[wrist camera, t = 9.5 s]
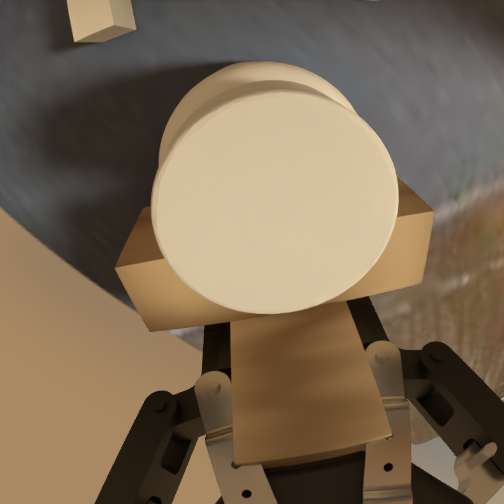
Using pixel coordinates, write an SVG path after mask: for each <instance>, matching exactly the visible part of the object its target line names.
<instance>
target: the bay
mask: <svg viewBox="0 0 504 504" xmlns="http://www.w3.org/2000/svg"><path fill="white" fill-rule="evenodd" d="M366 1H378V0H366ZM67 4H68V11H69V16H70V22H71V27H72V33H73V38H74V42H105V41H108V40H110V39H113V38H115V37H118V36H121V35H123V34H126V33H129V32H132V31H135V30H137V29H136V25H135V20H134V15H133V10H132V4H131V0H67Z"/></svg>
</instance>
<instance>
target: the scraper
mask: <svg viewBox="0 0 504 504" xmlns="http://www.w3.org/2000/svg"><path fill="white" fill-rule="evenodd" d="M396 177H397V176H396ZM397 182H398V197H399V202H398V213H397V217H396V221H395V225H394V229H393V232H392V234H391V237H390V239H389V241H388V244H387V246H386V248H385V249H384V251H383V253H382V255H381V256H380V258H379V259H378V260H377V262H376V263H375V264H374V265H373V266H372V268H371V269H370V270H369V271H368V272H367V273H366V274H365V275H364V276H363V277H362V278H361V279H360V280H359V281H358V282H357V283H355V284H354V285H353V286H352V287H350V288H349V289H347V290H346V291H344V292H343V293H341V294H339V295H338V296H336V297H334V298H333V299H331V300H329V301H326V302H324V303H322V304H319V305H317V306H314V307H310V308H307V309H303V310H299V311H294V312H289V313H280V314H256V313H247V312H242V311H237V310H233V309H230V308H227V307H224V306H221V305H219V304H216V303H214V302H212V301H210V300H208V299H206V298H204V297H203V296H201V295H199V294H198V293H196V292H195V291H193V290H192V289H191V288H189V287H188V286H187V285H186V284H185V283H184V282H183V281H181V279H180V278H179V277H178V276H177V275H176V274H175V273H174V272H173V270H172V269H171V268H170V266H169V265H168V263H167V262H166V260H165V258H164V257H163V255H162V253H161V251H160V249H159V246H158V244H157V241H156V238H155V235H154V230H153V226H152V219H151V206H149V207H145V208H143V209H142V211H141V213H140V215H139V217H138V219H137V221H136V223H135V225H134V227H133V229H132V231H131V233H130V235H129V238H128V240H127V242H126V244H125V246H124V248H123V250H122V252H121V255H120V257H119V259H118V261H117V263H116V266H115V270H116V272H117V274H118V276H119V278H120V280H121V282H122V283H123V285H124V287H125V289H126V291H127V293H128V295H129V296H130V298H131V300H132V302H133V304H134V305H135V307H136V309H137V311H138V312H139V314H140V316H141V318H142V319H143V321H144V323H145V324H146V326H147V328H148V329H149V331H150V332H153V331H163V330H172V329H180V328H188V327H196V326H203V325H210V324H217V323H224V322H230V331H231V381H232V416H233V445H234V464H235V465H236V466H237V467H238V468H239V467H240V466H241V465H244V464H255V463H261V465H262V466H263V468H264V469H267V468H276V467H283V466H290V465H297V464H303V463H309V462H314V461H319V460H324V459H329V458H334V457H338V456H343V455H347V454H351V453H355V452H359V451H363V450H364V447H365V445H366V443H369V442H372V441H376V440H379V439H383V438H385V439H386V440H389V438H390V437H391V435H392V431H391V428H390V425H389V421H388V418H387V415H386V412H385V409H384V406H383V402H382V399H381V396H380V393H379V390H378V387H377V384H376V381H375V378H374V376H373V373H372V370H371V367H370V364H369V361H368V358H367V356H366V353H365V350H364V347H363V345H362V342H361V339H360V336H359V334H358V331H357V328H356V326H355V323H354V320H353V318H352V315H351V313H350V310H349V308H348V305H347V302H346V301H347V300H352V299H356V298H361V297H365V296H370V295H374V294H379V293H383V292H387V291H391V290H396V289H400V288H404V287H408V286H412V285H416V284H420V283H421V282H422V277H423V273H424V268H425V263H426V258H427V253H428V247H429V242H430V236H431V229H432V223H433V216H434V210H433V209H432V208H431V207H430V206H429V205H427V204H426V203H425V202H424V201H423V200H422V199H421V198H420V197H419V196H418V195H417V194H416V193H415V192H414V191H412V190H411V189H410V188H409V187H408V186H407V185H406V184H405V183H404V182H402V181H401V180H400V179H399V178H398V177H397Z"/></svg>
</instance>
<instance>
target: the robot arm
mask: <svg viewBox="0 0 504 504" xmlns="http://www.w3.org/2000/svg"><path fill="white" fill-rule="evenodd" d="M346 302H347V305H348V308H349V310H350V313H351V315H352V318H353V320H354V323H355V326H356V328H357V331H358V334H359V336H360V339H361V342H362V345H363V347H364V350H365V353H366V356H367V358H368V361H369V364H370V367H371V370H372V373H373V376H374V378H375V381H376V384H377V387H378V390H379V393H380V396H381V399H382V402H383V406H384V409H385V412H386V415H387V418H388V421H389V425H390V428H391V431H392V435H391V437H390V438H389V440H386V439H385V438H383V439H379V440H376V441H372V442H369V443H366V445H365V447H364V450H363V451H359V452H355V453H351V454H347V455H343V456H338V457H334V458H329V459H324V460H319V461H314V462H309V463H303V464H297V465H290V466H283V467H276V468H267V469H264V468H263V466H262V465H261V463H255V464H244V465H241V466H240V467H239V468H238V467H237V466H236V465H235V464H234V445H233V416H232V381H231V331H230V322H224V323H217V324H210V325H204V343H203V359H202V360H203V361H202V374H201V377H200V378H199V379H198V380H197V381H196V383H195V385H194V386H193V387H191V388H190V389H188V390H186V391H183V392H180V393H178V394H175V395H172V394H171V393H169V392H167V391H156V392H154V393H152V394H150V395H149V396H148V397H147V398H146V400H145V401H144V403H143V405H142V407H141V409H140V411H139V413H138V415H137V417H136V419H135V421H134V423H133V425H132V427H131V429H130V431H129V433H128V435H127V437H126V439H125V441H124V444H123V445H122V447H121V449H120V451H119V454H118V456H117V458H116V460H115V462H114V464H113V466H112V468H111V470H110V472H109V474H108V476H107V479H106V481H105V483H104V485H103V487H102V489H101V491H100V493H99V495H98V498H97V500H96V502H95V504H172V502H173V499H174V497H175V494H176V492H177V490H178V487H179V485H180V482H181V479H182V477H183V475H184V472H185V470H186V467H187V465H188V462H189V460H190V457H191V455H192V452H193V450H194V447H195V445H196V442H197V440H198V437H200V436H203V435H205V434H206V437H205V443H206V447H207V450H208V454H209V457H210V460H211V464H212V467H213V470H214V473H215V476H216V479H217V483H218V486H219V488H220V492H221V495H222V496H221V497H220V498H219V499H218V501H217V502H216V503H215V504H486V503H487V502H488V501H489V500H490V499H491V497H493V496H494V495H495V493H496V492H497V491H498V490H499V489H500V488H501V487H502V486H503V485H504V403H503V401H502V400H501V399H500V398H499V397H498V396H497V395H496V394H495V393H494V392H493V391H492V390H491V389H490V388H489V387H488V386H487V385H486V384H485V382H484V381H483V380H482V379H481V378H480V377H479V376H478V375H477V374H476V373H475V372H474V371H473V370H472V369H471V368H470V367H469V366H468V365H467V364H466V363H465V362H464V361H463V360H462V359H461V358H460V357H459V356H458V355H457V354H456V353H455V352H454V351H453V350H452V349H451V348H450V347H449V346H447V345H446V344H444V343H442V342H437V341H435V342H430V343H428V344H426V345H425V346H424V347H423V348H422V350H404V349H400V348H398V347H397V346H396V345H394V344H393V343H391V342H390V341H389V339H388V338H387V335H386V333H385V331H384V329H383V326H382V324H381V322H380V320H379V317H378V315H377V313H376V312H375V309H374V307H373V305H372V302H371V300H370V298H369V296H365V297H361V298H356V299H352V300H347V301H346ZM406 399H409V400H410V401H411V403H412V404H413V405H414V406H415V407H416V409H417V410H418V411H419V412H420V413H421V414H422V416H423V417H424V418H425V419H426V420H427V422H428V423H429V424H430V425H431V426H432V428H433V429H434V430H435V431H436V432H437V434H438V435H439V436H440V437H441V438H442V440H443V441H444V442H445V443H446V444H447V446H448V447H449V448H450V449H451V450H452V452H453V453H454V454H455V455H456V457H457V458H456V460H455V463H454V471H455V474H456V476H457V478H458V481H459V486H458V490H455V489H453V488H452V487H450V486H448V485H447V484H445V483H443V482H442V481H440V480H438V479H437V478H435V477H434V476H432V475H430V474H428V473H427V472H426V471H424V470H423V469H421V468H419V467H418V466H416V465H415V464H413V463H412V462H411V426H410V408H409V402H408V400H406Z"/></svg>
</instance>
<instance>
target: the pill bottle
mask: <svg viewBox="0 0 504 504" xmlns="http://www.w3.org/2000/svg"><path fill="white" fill-rule="evenodd" d="M398 202H399V197H398V182H397V177H396V173H395V169H394V165H393V163H392V160H391V158H390V156H389V153H388V151H387V149H386V148H385V146H384V144H383V142H382V141H381V140H380V138H379V137H378V135H377V134H376V133H375V132H374V130H373V129H372V128H371V127H370V126H369V125H368V124H367V123H366V122H365V121H364V120H363V119H362V118H360V117H359V116H358V115H357V113H356V112H355V110H354V109H353V107H352V106H351V104H350V103H349V102H348V100H347V99H346V98H345V97H344V96H343V95H342V94H341V93H340V92H339V91H338V90H337V89H336V88H335V87H334V86H332V85H331V84H330V83H329V82H327V81H326V80H324V79H323V78H321V77H319V76H317V75H316V74H314V73H312V72H310V71H307V70H305V69H302V68H300V67H297V66H293V65H290V64H285V63H278V62H266V61H261V62H258V61H248V62H240V63H235V64H231V65H229V66H226V67H224V68H222V69H220V70H218V71H217V72H215V73H213V74H212V75H210V76H208V77H207V78H205V79H204V80H202V81H201V82H200V83H198V84H197V85H196V86H194V87H193V88H192V89H191V90H190V91H189V92H188V93H187V94H186V95H185V96H184V97H183V99H182V100H181V101H180V103H179V104H178V106H177V107H176V108H175V110H174V112H173V113H172V115H171V117H170V119H169V121H168V123H167V125H166V128H165V130H164V133H163V136H162V140H161V145H160V151H159V168H158V170H157V173H156V176H155V179H154V183H153V188H152V194H151V219H152V226H153V230H154V235H155V238H156V241H157V244H158V246H159V249H160V251H161V253H162V255H163V257H164V258H165V260H166V262H167V263H168V265H169V266H170V268H171V269H172V270H173V272H174V273H175V274H176V275H177V276H178V277H179V278H180V279H181V281H183V282H184V283H185V284H186V285H187V286H188V287H189V288H191V289H192V290H193V291H195V292H196V293H198V294H199V295H201V296H203V297H204V298H206V299H208V300H210V301H212V302H214V303H216V304H219V305H221V306H224V307H227V308H230V309H233V310H237V311H242V312H247V313H256V314H280V313H289V312H294V311H299V310H303V309H307V308H310V307H314V306H317V305H319V304H322V303H324V302H326V301H329V300H331V299H333V298H334V297H336V296H338V295H339V294H341V293H343V292H344V291H346V290H347V289H349V288H350V287H352V286H353V285H354V284H355V283H357V282H358V281H359V280H360V279H361V278H362V277H363V276H364V275H365V274H366V273H367V272H368V271H369V270H370V269H371V268H372V266H373V265H374V264H375V263H376V262H377V260H378V259H379V258H380V256H381V255H382V253H383V251H384V249H385V248H386V246H387V244H388V241H389V239H390V237H391V234H392V232H393V229H394V225H395V221H396V217H397V213H398Z"/></svg>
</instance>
